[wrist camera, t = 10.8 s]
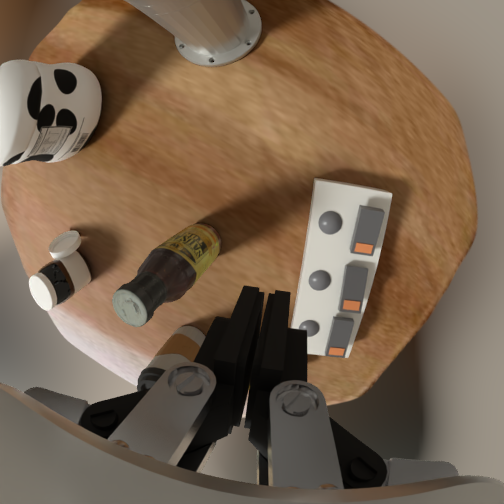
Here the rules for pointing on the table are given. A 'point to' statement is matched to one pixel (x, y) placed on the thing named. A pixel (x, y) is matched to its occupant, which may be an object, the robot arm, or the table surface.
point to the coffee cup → (172, 355)
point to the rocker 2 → (366, 230)
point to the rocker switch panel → (333, 257)
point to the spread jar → (61, 272)
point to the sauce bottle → (167, 273)
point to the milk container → (46, 110)
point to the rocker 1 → (339, 337)
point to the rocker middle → (353, 289)
